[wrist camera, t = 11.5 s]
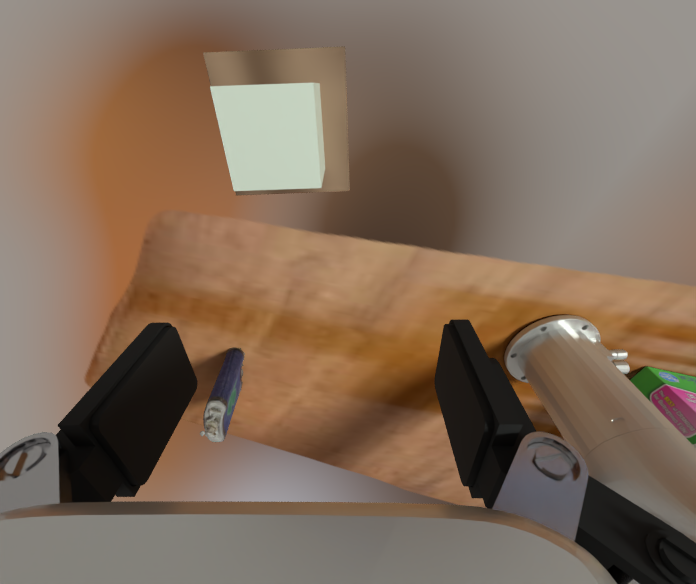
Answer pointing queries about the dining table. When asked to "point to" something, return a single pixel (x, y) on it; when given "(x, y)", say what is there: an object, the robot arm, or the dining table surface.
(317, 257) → the dining table surface
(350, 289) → the dining table surface
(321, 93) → the walnut block
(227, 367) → the flask
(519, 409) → the robot arm
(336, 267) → the dining table surface
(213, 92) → the sage block
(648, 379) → the game box
